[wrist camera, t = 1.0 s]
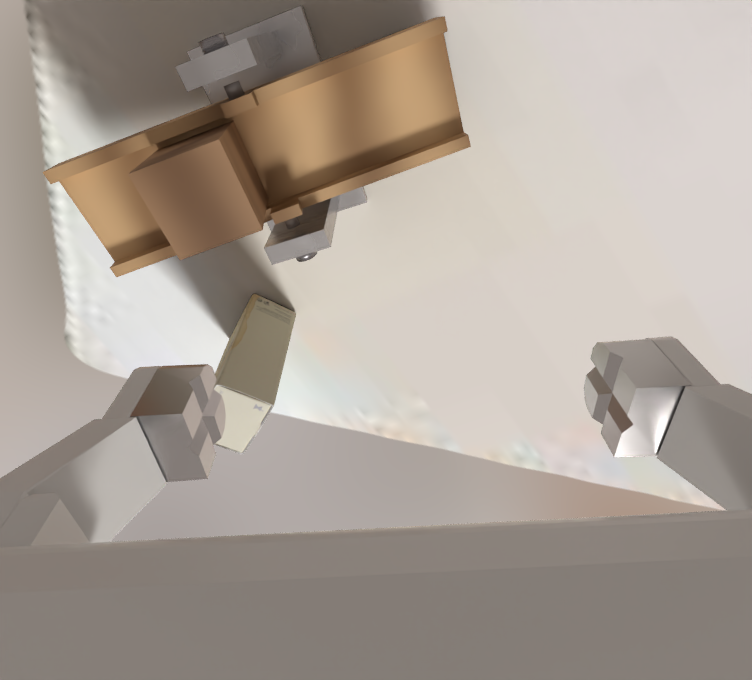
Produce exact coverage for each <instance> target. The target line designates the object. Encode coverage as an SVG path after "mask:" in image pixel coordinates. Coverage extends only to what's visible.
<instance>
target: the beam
mask: <svg viewBox="0 0 752 680" xmlns="http://www.w3.org/2000/svg"><path fill="white" fill-rule="evenodd" d="M444 32H447V26H446V21H445V16H444V17H436V18H433V19H430V20H428V21H425V22H422V23H420V24H417V25H415V26H412V27H409V28H407V29H404V30H402V31H399V32H397V33H394V34H391V35H389V36H386V37H384V38H381V39H379V40H376V41H373V42H371V43H368V44H366V45H363V46H360V47H358V48H355V49H353V50H350V51H348V52H345V53H342V54H340V55H337V56H335V57H332V58H330V59H327V60H324V61H322V62H319V63H317V64H314V65H312V66H309V67H306V68H304V69H301V70H299V71H296V72H293V73H291V74H288V75H286V76H283V77H281V78H278V79H275V80H273V81H270V82H268V83H265V84H263V85H260V86H257V87H255V88H252V89H250V90H247V91H243V89H242V86H241V84H240V82H239V81H236V82H233V83H231V84H228V85H226V86H224V89H225V91H226V94H227V96H228V98H226V99H224V100H221V101H219V102H216V103H214V104H211V105H208V106H206V107H203V108H201V109H198V110H196V111H193V112H190V113H188V114H185V115H183V116H180V117H177V118H175V119H172V120H170V121H167V122H165V123H162V124H159V125H157V126H154V127H152V128H149V129H147V130H144V131H141V132H139V133H136V134H134V135H131V136H128V137H126V138H123V139H121V140H118V141H116V142H113V143H110V144H108V145H105V146H103V147H100V148H98V149H95V150H92V151H90V152H87V153H85V154H82V155H80V156H77V157H74V158H72V159H69V160H67V161H64V162H61V163H59V164H57V165H55V166H53V167H51V168H50V169H48V170H46V171H44V172H43V174H44V175H45V176H46V178H47V179H48V181H49V182H50V184H52V183H55V182H58V181H59V182H60V183H61V184H62V186H63V187H64V189H65V190H66V192H67V193H68V195H69V196H70V197H71V199H72V200H73V202H74V203H75V205H76V206H77V208H78V209H79V210H80V212H81V213H82V215H83V216H84V218H85V219H86V221H87V222H88V223H89V225H90V226H91V228H92V229H93V231H94V232H95V234H96V235H97V236H98V238H99V239H100V241H101V242H102V244H103V245H104V247H105V248H106V249H107V251H108V252H109V254H110V255H111V257H112V258H113V260H114V261H115V262H114V264H113V265H112V266H111V267H110V269H111V270H112V271H113V273H114V274H115V276H116V277H118V276H121V275H124V274H127V273H129V272H132V271H135V270H137V269H140V268H143V267H146V266H148V265H151V264H154V263H156V262H159V261H162V260H165V259H167V258H170V257H173V256H175V255H176V253H175V251H174V250H173V248H172V246H171V245H170V243H169V241H168V240H167V238H166V237H165V235H164V233H163V232H162V230H161V228H160V227H159V225H158V223H157V222H156V220H155V218H154V217H153V215H152V213H151V212H150V210H149V209H148V207H147V205H146V204H145V202H144V200H143V199H142V197H141V195H140V194H139V192H138V190H137V189H136V187H135V185H134V184H133V182H132V181H131V179H130V177H129V176H128V174H129V173H130V172H131V171H132V170H133V169H135V168H136V167H137V166H138V165H140V164H141V163H142V162H143V161H145V160H146V159H147V158H148V157H149V156H151V155H152V154H153V153H154V152H156V151H157V150H158V149H160V148H163V147H166V146H168V145H171V144H173V143H176V142H179V141H181V140H184V139H186V138H189V137H192V136H194V135H197V134H199V133H202V132H205V131H207V130H210V129H212V128H215V127H218V126H220V125H223V124H225V123H228V122H231V121H233V120H234V123H235V125H236V127H237V129H238V131H239V134H240V136H241V138H242V140H243V142H244V145H245V147H246V149H247V151H248V153H249V156H250V158H251V160H252V162H253V164H254V167H255V169H256V171H257V173H258V175H259V178H260V180H261V182H262V184H263V186H264V189H265V191H266V193H267V195H268V197H269V199H268V204H267V209H266V214H265V219H264V223H265V222H268V221H270V220H273V221H274V223H275V225H276V224H278V223H281V222H284V223H285V225H286V227H287V229H292V228H295V227H297V226H298V225H300V221H299V219H298V217H297V216H300V215H303V208H305V207H308V206H311V205H314V204H316V203H319V202H322V201H324V200H327V199H330V198H333V197H335V196H338V195H341V194H343V193H346V192H349V191H352V190H354V189H357V188H360V187H362V186H365V185H368V184H371V183H373V182H376V181H379V180H381V179H384V178H387V177H390V176H392V175H395V174H398V173H400V172H403V171H406V170H408V169H411V168H414V167H417V166H419V165H422V164H425V163H427V162H430V161H433V160H436V159H438V158H441V157H444V156H446V155H449V154H452V153H455V152H457V151H460V150H463V149H465V148H468V147H471V146H470V141H469V136H468V135H467V134H466V133H464V132H463V127H462V122H461V117H460V112H459V107H458V102H457V97H456V93H455V88H454V83H453V78H452V73H451V68H450V63H449V58H448V53H447V48H446V44H445V39H444V34H443V33H444Z"/></svg>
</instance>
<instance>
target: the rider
mask: <svg viewBox="0 0 752 680" xmlns="http://www.w3.org/2000/svg"><path fill="white" fill-rule="evenodd" d="M128 176H129V177H130V179H131V181H132V182H133V184H134V185H135V187H136V189H137V190H138V192H139V194H140V195H141V197H142V199H143V200H144V202H145V204H146V205H147V207H148V209H149V210H150V212H151V213H152V215H153V217H154V218H155V220H156V222H157V223H158V225H159V227H160V228H161V230H162V232H163V233H164V235H165V237H166V238H167V240H168V241H169V243H170V245H171V246H172V248H173V250H174V251H175V253H176V255H177V256H178V258H179V260H182V259H185V258H187V257H190V256H193V255H196V254H198V253H201V252H204V251H206V250H209V249H212V248H215V247H217V246H220V245H223V244H226V243H228V242H231V241H234V240H236V239H239V238H242V237H245V236H247V235H250V234H253V233H255V232H258V231H261V230H263V224H264V219H265V214H266V209H267V204H268V199H269V197H268V195H267V193H266V191H265V189H264V186H263V184H262V182H261V180H260V178H259V175H258V173H257V171H256V169H255V167H254V164H253V162H252V160H251V158H250V156H249V153H248V151H247V149H246V147H245V145H244V142H243V140H242V138H241V136H240V134H239V131H238V129H237V127H236V125H235V123H234V120H233V121H231V122H228V123H225V124H223V125H220V126H218V127H215V128H212V129H210V130H207V131H205V132H202V133H199V134H197V135H194V136H192V137H189V138H186V139H184V140H181V141H179V142H176V143H173V144H171V145H168V146H166V147H163V148H160V149H158V150H157V151H156V152H154V153H153V154H152V155H151V156H149V157H148V158H147V159H146V160H145V161H143V162H142V163H141V164H140V165H138V166H137V167H136V168H135V169H133V170H132V171H131V172H130V173H129V174H128Z"/></svg>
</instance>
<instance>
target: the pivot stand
mask: <svg viewBox="0 0 752 680" xmlns="http://www.w3.org/2000/svg"><path fill="white" fill-rule="evenodd" d="M198 43H199V45H200V47H197V48H195V49H192V50H190V51H187V53H188V56H189V58H190V61H188V62H185V63H183V64H180V65H178V66H175V68H176V70H177V72H178V74H179V76H180V78H181V80H182V82H183V84H184V86H185V88H186V90H187V92H188V91H191V90H193V89H196V88H198V87H201V86H203V87H204V90H205V92H206V94H207V96H208V98H209V100H210V102H211V104H214V103H216V102H219V101H221V100H224V99H226V98H228V96H227V94H226V91H225V89H224V86H226V85H228V84H231V83H233V82H236V81H239V82H240V84H241V86H242V89H243V91H247V90H250V89H252V88H255V87H257V86H260V85H263V84H265V83H268V82H270V81H273V80H275V79H278V78H281V77H283V76H286V75H288V74H291V73H293V72H296V71H299V70H301V69H304V68H306V67H309V66H312V65H314V64H317V63H319V62H321V60H320V57H319V54H318V51H317V48H316V45H315V42H314V39H313V36H312V33H311V30H310V27H309V24H308V21H307V18H306V15H305V12H304V9H303V7H302V6H299V7H296V8H294V9H291V10H289V11H286V12H284V13H281V14H279V15H276V16H274V17H271V18H269V19H267V20H264V21H262V22H259V23H257V24H254V25H252V26H249V27H247V28H244V29H242V30H239V31H237V32H234V33H232V34H229V35H227V36H225V34H224V33H220V34H218V35H215V36H212V37H210V38H207V39H205V40H202V41H200V42H198ZM366 202H367V197H366V194H365V191H364V188H363V186H362V187H360V188H357V189H354V190H352V191H349V192H346V193H343V194H341V195H338V196H335V197H333V198H330V199H327V200H324V201H322V202H319V203H316V204H314V205H311V206H308V207H305V208H303V215H300V216H297V217H298V219H299V221H300V225H298V226H297V227H295V228H292V229H287V227H286V225H285V223H284V222H281V223H278V224H276V225H275V223H274V221H273V220H270V221H268V222H267V223H268V226H269V228H270V230H271V234H270V236H269V238H268V240H267V243H266V245H265V247H264V249H265V251H266V253H267V255H268V257H269V259H270V261H271V263H272V265H273V264H276V263H280V262H283V261H286V260H289V259H293V258H296V259H297V261H299V262H302V261H306V260H309V259H311V258H313V257H314V256H315V255H316V254H317V251H319V250H322V249H326V248H329V247H331V243H332V238H333V232H334V227H335V222H336V217H337V212H338V211H341V210H344V209H347V208H350V207H353V206H357V205H360V204H363V203H366Z"/></svg>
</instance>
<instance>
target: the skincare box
mask: <svg viewBox="0 0 752 680" xmlns="http://www.w3.org/2000/svg"><path fill="white" fill-rule="evenodd" d="M295 317H296V313H295V312H293V311H291V310H289V309H287V308H285V307H283V306H281V305H278V304H276V303H274V302H272V301H270V300H268V299H265V298H263V297H261V296H259V295H256V294H253V295H252V296H251V298H250V300H249V302H248V304H247V306H246V307H245V309H244V311H243V313H242V315H241V317H240V319H239V321H238V323H237V325H236V327H235V329H234V331H233V333H232V335H231V337H230V339H229V342H228V344H227V346H226V349H225V351H224V353H223V356H222V358H221V361H220V363H219V366H218V368H217V370H216V373H215V376H216V379H217V380H216V383H215V385H214V388H213V389H214V390H215V391H217V392H218V393H219V394H220V395H222V398H223V401H224V405H225V413H226V418H225V429H224V432H223V435H222V438H221V439H220V440H219V441H217V442H216V443H215V444H214V445H217V446H219V447H222V448H225V449H228V450H231V451H233V452H236V453H239V454H244V453H245V451H246V450H247V448H248V447H249V445H250V444H251V442H252V441H253V439H254V438H255V436H256V435H257V433H258V431H259V430H260V428H261V426H262V425H263V423H264V422H265V420H266V418H267V417H268V415H269V413H270V411H271V410H272V408H273V406H274V403H275V399H276V395H277V391H278V386H279V382H280V378H281V374H282V370H283V366H284V362H285V358H286V353H287V349H288V345H289V341H290V337H291V333H292V329H293V325H294V320H295Z"/></svg>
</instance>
